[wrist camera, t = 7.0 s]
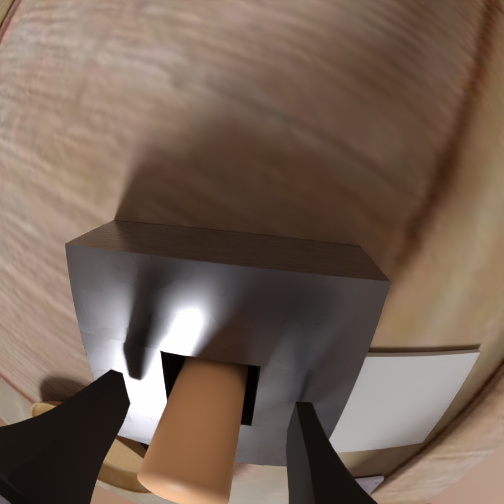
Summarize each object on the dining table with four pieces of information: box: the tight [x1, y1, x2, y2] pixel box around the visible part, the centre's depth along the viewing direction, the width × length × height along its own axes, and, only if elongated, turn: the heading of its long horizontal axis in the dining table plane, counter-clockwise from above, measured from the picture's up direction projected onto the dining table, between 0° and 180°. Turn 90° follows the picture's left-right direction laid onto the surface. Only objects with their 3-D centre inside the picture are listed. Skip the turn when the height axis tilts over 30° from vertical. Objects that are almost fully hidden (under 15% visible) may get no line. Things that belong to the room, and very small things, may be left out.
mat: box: [329, 349, 480, 452], centre depth 16 cm, size 10×10×1 cm
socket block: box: [65, 220, 390, 466], centre depth 13 cm, size 12×12×4 cm
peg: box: [137, 356, 249, 504], centre depth 11 cm, size 3×3×9 cm
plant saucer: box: [30, 401, 154, 494], centre depth 20 cm, size 15×15×3 cm
